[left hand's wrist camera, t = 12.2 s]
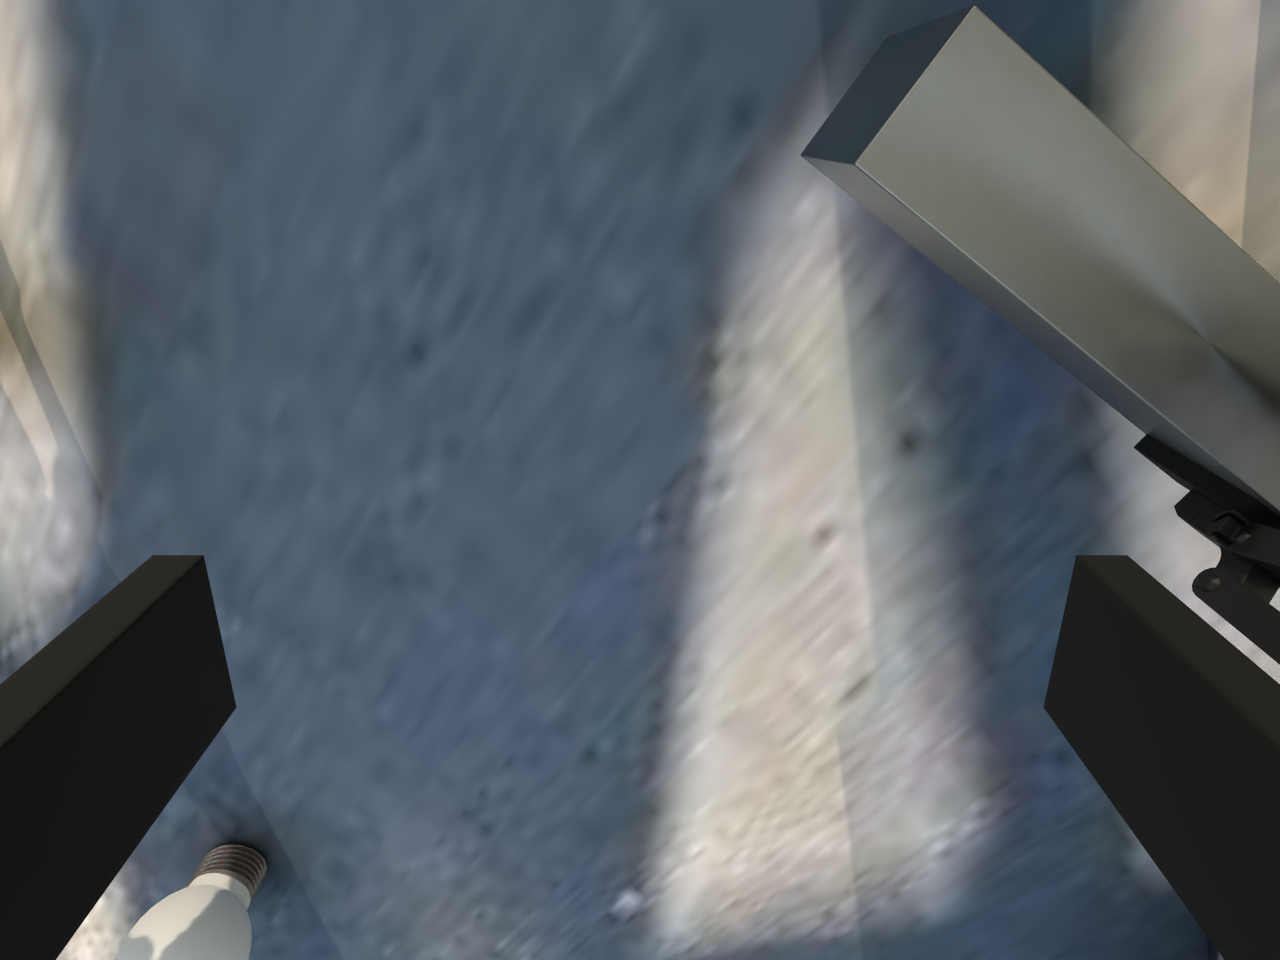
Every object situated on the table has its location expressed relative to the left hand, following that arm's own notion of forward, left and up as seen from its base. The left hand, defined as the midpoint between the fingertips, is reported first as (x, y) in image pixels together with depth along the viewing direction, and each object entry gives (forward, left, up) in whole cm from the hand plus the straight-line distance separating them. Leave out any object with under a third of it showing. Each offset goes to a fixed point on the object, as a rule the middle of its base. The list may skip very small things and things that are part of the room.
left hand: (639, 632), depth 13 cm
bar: (-10, +14, -22) cm, 28 cm away
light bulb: (+44, -4, -30) cm, 54 cm away
